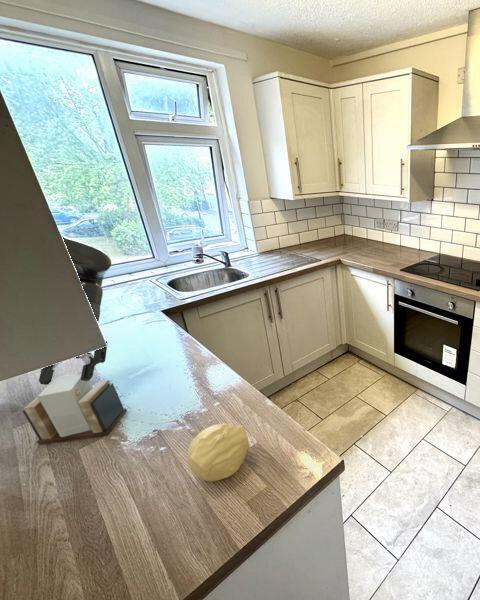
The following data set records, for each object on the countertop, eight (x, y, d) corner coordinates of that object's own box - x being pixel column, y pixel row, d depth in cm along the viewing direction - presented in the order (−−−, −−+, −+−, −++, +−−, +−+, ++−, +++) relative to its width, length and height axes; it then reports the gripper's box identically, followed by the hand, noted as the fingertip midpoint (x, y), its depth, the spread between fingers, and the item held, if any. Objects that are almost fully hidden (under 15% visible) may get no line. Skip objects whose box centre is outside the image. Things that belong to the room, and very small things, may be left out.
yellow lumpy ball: (210, 501, 68) (197, 464, 63) (184, 470, 74) (171, 434, 70) (260, 463, 76) (252, 428, 72) (233, 438, 83) (224, 405, 78)
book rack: (38, 444, 81) (17, 409, 76) (64, 418, 89) (47, 385, 84) (107, 435, 83) (91, 401, 79) (127, 410, 91) (113, 378, 87)
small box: (73, 416, 88) (53, 376, 83) (103, 409, 90) (85, 370, 85) (59, 438, 81) (36, 396, 76) (91, 430, 83) (71, 389, 78)
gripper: (35, 318, 82) (17, 383, 76) (100, 313, 85) (87, 377, 79) (59, 326, 89) (44, 387, 83) (119, 322, 91) (108, 381, 86)
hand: (65, 382), depth 81 cm, fingers open, 8 cm apart
